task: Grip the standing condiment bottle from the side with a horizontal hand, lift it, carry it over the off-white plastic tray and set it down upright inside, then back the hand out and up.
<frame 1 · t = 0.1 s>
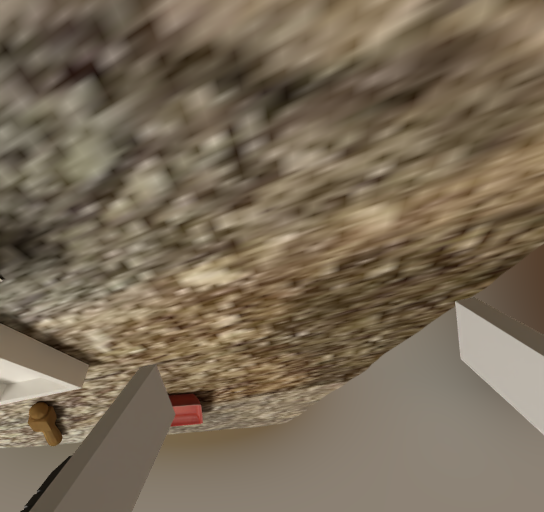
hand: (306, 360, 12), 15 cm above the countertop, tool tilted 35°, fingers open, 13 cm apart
plant saucer: (163, 402, 65), on the countertop
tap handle: (51, 417, 63), on the countertop
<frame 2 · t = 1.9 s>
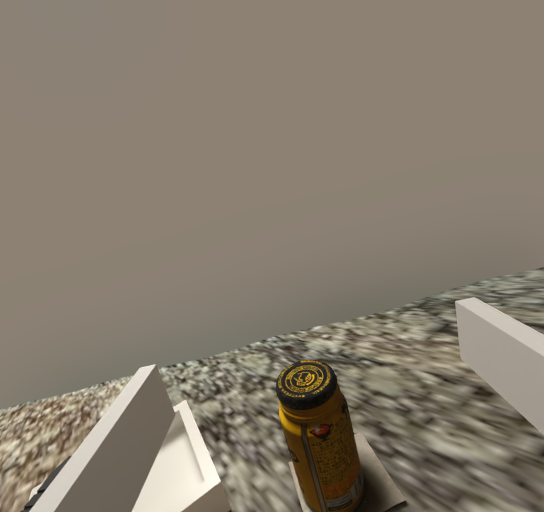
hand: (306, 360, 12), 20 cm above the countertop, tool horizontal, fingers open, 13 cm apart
condiment: (341, 483, 26), on the countertop
tray: (131, 510, 28), on the countertop
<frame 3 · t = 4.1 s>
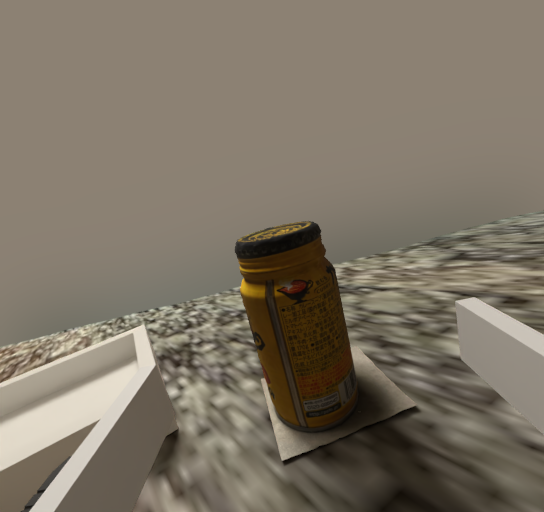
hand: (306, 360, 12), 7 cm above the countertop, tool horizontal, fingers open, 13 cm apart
condiment: (328, 395, 19), on the countertop
tray: (53, 437, 21), on the countertop
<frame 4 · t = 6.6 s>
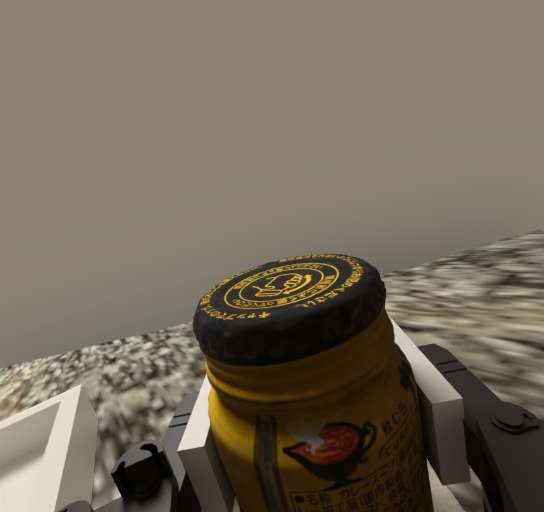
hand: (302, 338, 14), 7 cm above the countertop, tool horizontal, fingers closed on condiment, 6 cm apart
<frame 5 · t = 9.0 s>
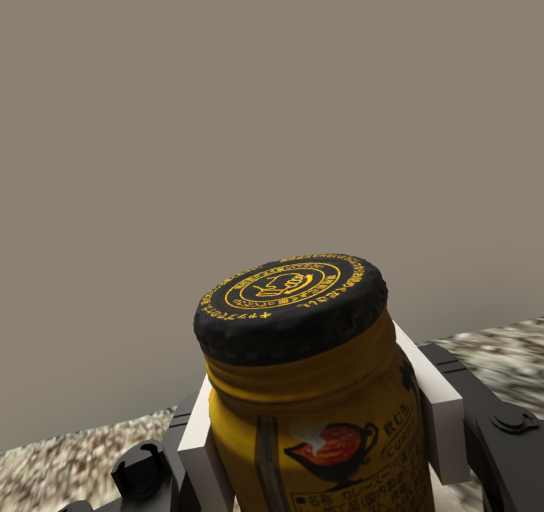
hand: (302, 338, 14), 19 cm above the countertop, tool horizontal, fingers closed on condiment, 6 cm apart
when the fingers open (9 cm above the countertop, at t = 11.6 s): condiment drops 1 cm, resting on tray.
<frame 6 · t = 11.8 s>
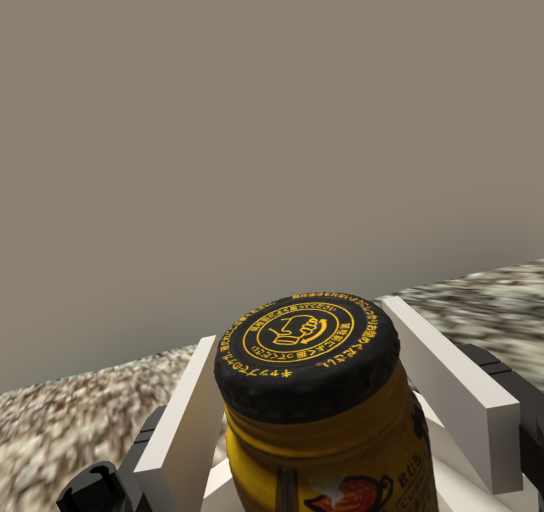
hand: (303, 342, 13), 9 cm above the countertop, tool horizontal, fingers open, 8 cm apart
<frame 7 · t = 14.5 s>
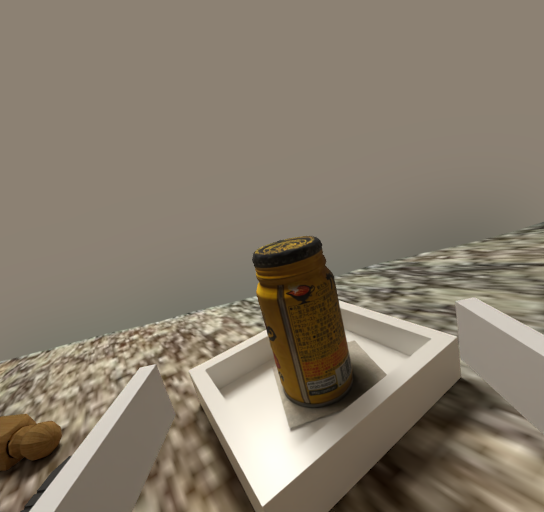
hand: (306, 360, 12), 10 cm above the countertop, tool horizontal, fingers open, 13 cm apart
condiment: (328, 380, 23), point 1 cm above the countertop, touching tray
tray: (318, 391, 23), on the countertop
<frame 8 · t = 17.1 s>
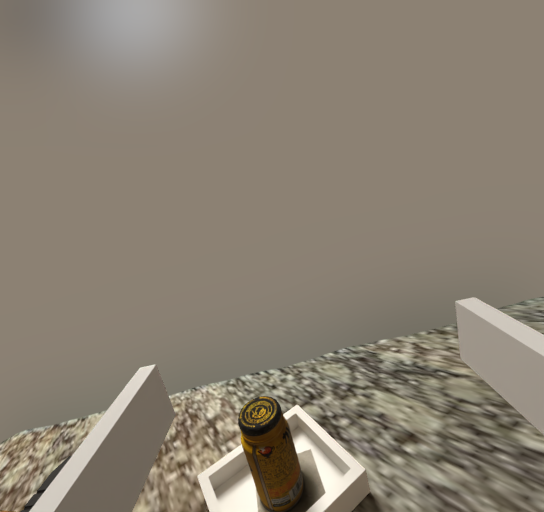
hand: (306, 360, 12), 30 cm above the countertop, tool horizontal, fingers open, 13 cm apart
condiment: (288, 487, 35), point 1 cm above the countertop, touching tray
tray: (282, 493, 35), on the countertop
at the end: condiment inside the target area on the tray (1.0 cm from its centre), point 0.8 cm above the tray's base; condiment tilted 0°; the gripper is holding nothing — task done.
